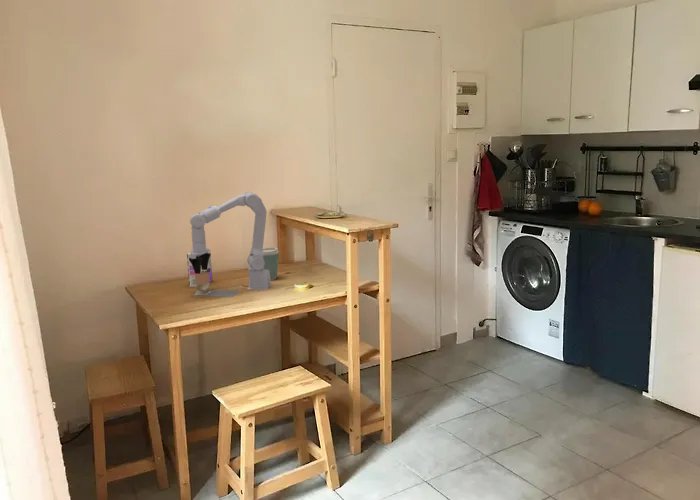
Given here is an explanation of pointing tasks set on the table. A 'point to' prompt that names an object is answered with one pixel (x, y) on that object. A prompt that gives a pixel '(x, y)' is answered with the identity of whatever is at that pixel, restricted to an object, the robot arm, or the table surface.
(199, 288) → the block cream
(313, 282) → the table surface
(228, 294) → the board
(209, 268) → the candy box
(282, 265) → the table surface
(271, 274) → the disposable coffee cup
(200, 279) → the block terracotta
